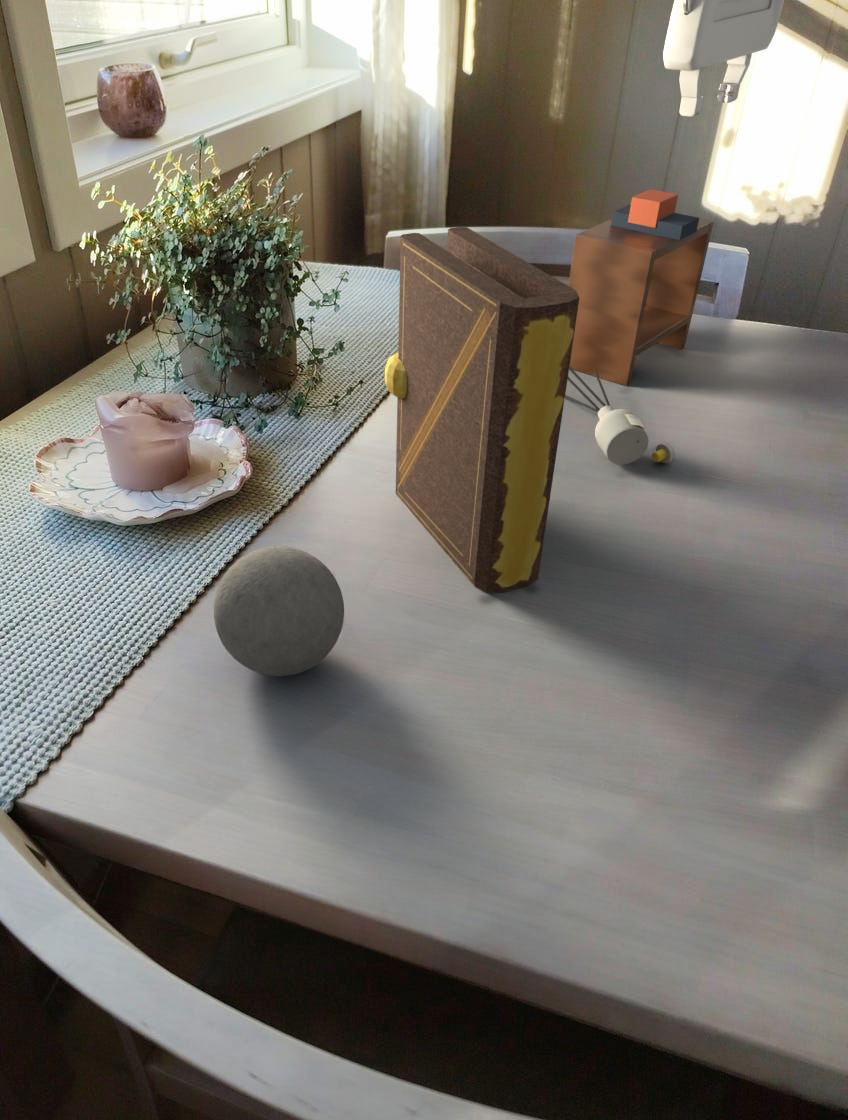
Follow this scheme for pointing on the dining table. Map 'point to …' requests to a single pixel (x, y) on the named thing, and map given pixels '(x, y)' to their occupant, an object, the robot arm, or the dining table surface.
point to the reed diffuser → (621, 431)
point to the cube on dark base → (655, 216)
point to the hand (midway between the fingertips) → (708, 108)
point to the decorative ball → (278, 611)
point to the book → (480, 400)
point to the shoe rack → (632, 295)
